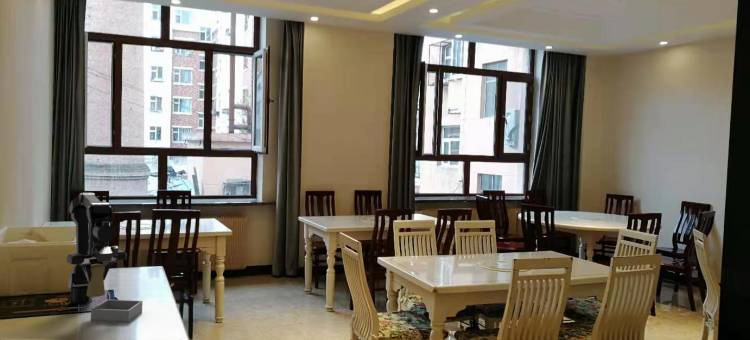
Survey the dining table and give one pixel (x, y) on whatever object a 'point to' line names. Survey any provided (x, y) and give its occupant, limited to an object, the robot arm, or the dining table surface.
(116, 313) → the bin
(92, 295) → the cork
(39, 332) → the dining table surface
